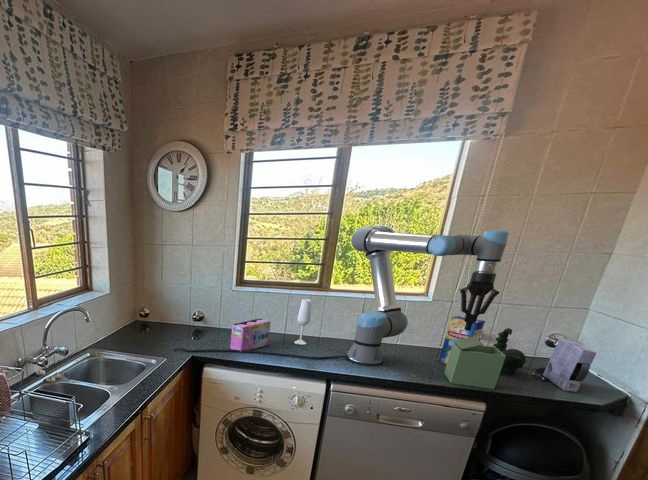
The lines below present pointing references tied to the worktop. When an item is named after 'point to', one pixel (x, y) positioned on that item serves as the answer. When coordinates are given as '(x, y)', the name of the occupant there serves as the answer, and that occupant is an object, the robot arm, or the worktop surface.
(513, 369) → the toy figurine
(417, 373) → the worktop surface
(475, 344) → the flap
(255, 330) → the gum box
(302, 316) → the champagne flute
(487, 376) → the green open box
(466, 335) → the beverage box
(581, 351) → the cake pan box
